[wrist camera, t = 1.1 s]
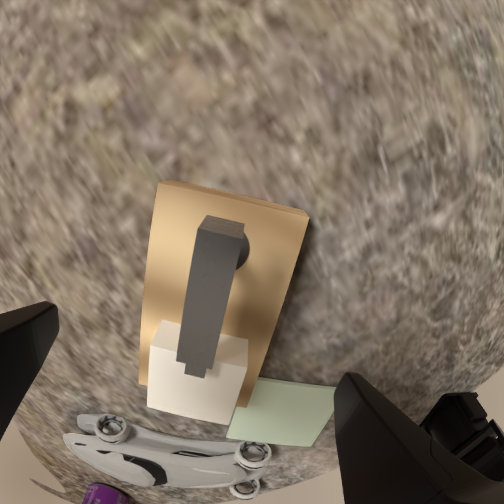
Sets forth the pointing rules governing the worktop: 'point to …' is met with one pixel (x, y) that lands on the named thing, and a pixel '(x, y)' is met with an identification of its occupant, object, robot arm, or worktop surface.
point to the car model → (167, 456)
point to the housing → (246, 274)
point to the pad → (283, 413)
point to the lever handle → (208, 292)
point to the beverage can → (104, 495)
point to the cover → (195, 378)
